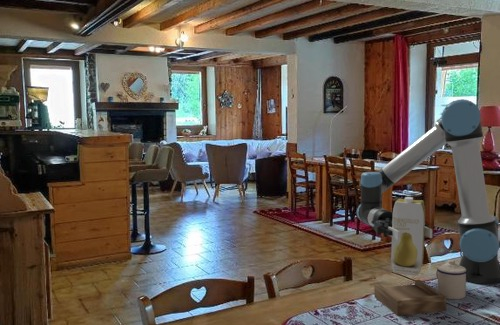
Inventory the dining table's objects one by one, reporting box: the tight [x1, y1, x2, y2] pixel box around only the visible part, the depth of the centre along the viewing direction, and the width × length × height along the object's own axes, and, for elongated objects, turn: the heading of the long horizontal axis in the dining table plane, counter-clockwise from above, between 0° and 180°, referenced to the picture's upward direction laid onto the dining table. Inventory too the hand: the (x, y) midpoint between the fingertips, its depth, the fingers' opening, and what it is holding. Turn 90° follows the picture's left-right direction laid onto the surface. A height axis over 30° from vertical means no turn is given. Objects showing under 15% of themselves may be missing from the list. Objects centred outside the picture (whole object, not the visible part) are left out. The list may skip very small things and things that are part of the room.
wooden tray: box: [373, 279, 447, 317], centre depth 157 cm, size 16×16×4 cm
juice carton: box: [390, 196, 426, 277], centre depth 155 cm, size 9×8×24 cm
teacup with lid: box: [435, 259, 467, 300], centre depth 164 cm, size 12×9×12 cm
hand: (415, 234), depth 151 cm, fingers closed on juice carton, 10 cm apart
